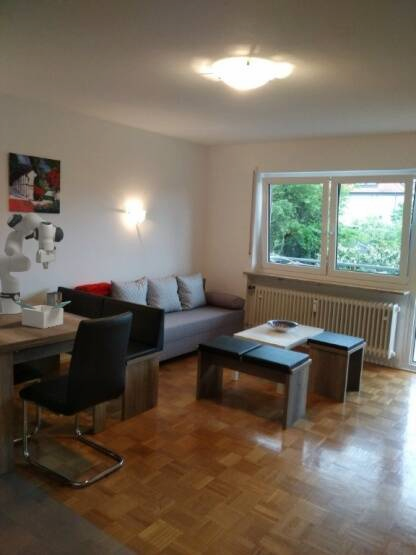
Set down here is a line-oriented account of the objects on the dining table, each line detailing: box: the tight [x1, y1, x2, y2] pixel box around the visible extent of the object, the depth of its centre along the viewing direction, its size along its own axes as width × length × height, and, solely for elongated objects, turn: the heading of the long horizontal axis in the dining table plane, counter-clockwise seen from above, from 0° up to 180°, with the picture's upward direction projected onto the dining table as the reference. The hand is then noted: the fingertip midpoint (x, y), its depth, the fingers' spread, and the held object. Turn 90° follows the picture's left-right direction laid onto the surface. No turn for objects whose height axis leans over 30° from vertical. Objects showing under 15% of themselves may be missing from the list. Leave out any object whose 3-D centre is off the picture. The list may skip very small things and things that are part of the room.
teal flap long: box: [14, 301, 36, 310], centre depth 264 cm, size 10×1×9 cm
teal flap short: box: [51, 300, 72, 310], centre depth 270 cm, size 1×8×9 cm
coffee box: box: [46, 291, 63, 308], centre depth 299 cm, size 9×6×16 cm
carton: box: [21, 304, 64, 330], centre depth 275 cm, size 19×17×10 cm
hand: (45, 269), depth 284 cm, fingers closed
